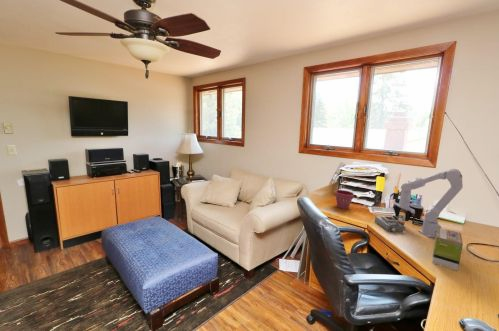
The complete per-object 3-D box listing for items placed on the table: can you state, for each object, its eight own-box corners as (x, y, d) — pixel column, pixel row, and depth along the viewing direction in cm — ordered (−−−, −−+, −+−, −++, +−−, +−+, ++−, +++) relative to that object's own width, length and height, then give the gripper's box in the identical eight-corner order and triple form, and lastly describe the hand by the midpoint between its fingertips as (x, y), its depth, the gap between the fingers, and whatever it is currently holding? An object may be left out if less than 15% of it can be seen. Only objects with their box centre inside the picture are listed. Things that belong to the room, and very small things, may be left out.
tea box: (432, 251, 128) (437, 226, 126) (456, 258, 122) (462, 232, 119) (431, 263, 117) (436, 236, 114) (458, 271, 110) (464, 243, 108)
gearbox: (404, 233, 149) (406, 225, 148) (389, 232, 149) (390, 224, 148) (388, 221, 167) (389, 214, 166) (374, 221, 167) (375, 214, 166)
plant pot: (353, 206, 196) (355, 192, 194) (350, 211, 185) (352, 196, 182) (336, 203, 204) (337, 189, 202) (332, 207, 192) (333, 192, 190)
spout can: (405, 227, 159) (407, 217, 157) (399, 226, 159) (401, 217, 157) (401, 224, 163) (403, 215, 161) (396, 224, 163) (397, 215, 161)
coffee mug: (424, 221, 170) (426, 208, 168) (412, 221, 170) (414, 208, 168) (413, 215, 181) (415, 203, 179) (402, 214, 181) (404, 202, 179)
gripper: (419, 203, 151) (416, 222, 154) (400, 196, 165) (397, 214, 168) (410, 203, 150) (407, 223, 152) (392, 196, 163) (389, 214, 166)
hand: (401, 218), depth 160 cm, fingers open, 7 cm apart
